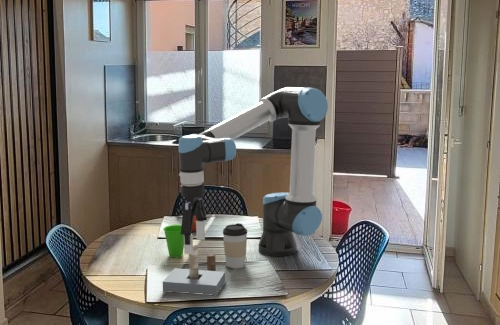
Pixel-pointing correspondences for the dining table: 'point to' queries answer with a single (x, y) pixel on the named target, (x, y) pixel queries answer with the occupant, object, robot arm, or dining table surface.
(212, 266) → the short pin
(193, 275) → the long pin
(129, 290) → the dining table surface
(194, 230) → the tomato
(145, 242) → the dining table surface
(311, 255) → the dining table surface
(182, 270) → the grey block with hole
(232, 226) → the coffee cup
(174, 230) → the cup
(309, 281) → the dining table surface
